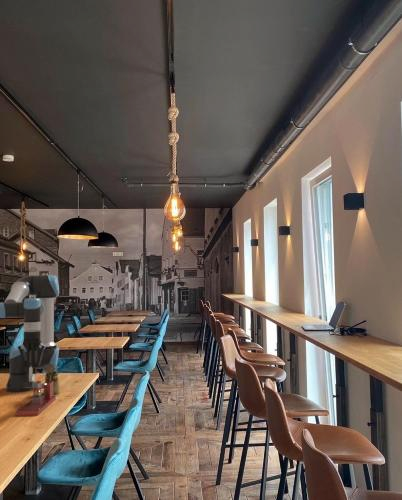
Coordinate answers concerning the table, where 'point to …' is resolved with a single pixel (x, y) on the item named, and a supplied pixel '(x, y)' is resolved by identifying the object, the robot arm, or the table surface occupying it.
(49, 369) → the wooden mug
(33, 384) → the nutcracker lever
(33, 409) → the nutcracker base
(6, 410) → the table surface
